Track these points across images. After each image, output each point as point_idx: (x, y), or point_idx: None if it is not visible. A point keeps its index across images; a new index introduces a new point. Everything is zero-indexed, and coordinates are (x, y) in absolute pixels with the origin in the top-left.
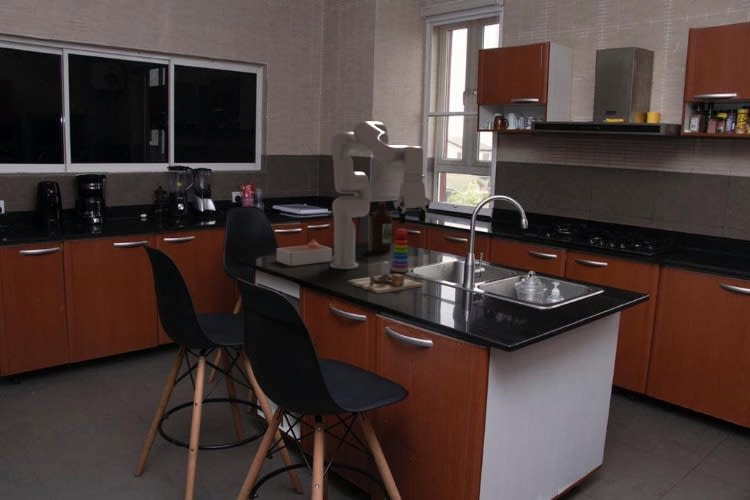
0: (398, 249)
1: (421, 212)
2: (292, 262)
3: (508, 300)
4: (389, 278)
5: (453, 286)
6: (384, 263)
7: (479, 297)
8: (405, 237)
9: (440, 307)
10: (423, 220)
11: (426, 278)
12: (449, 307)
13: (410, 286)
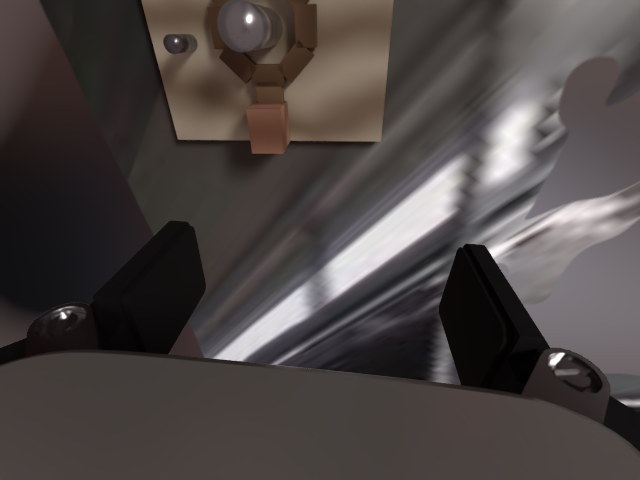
0: None
1: (483, 370)
2: None
3: (441, 348)
4: (295, 15)
5: (469, 196)
6: (225, 42)
7: (411, 307)
8: None
9: (267, 312)
10: (443, 318)
11: (520, 20)
12: (285, 321)
13: (323, 139)
